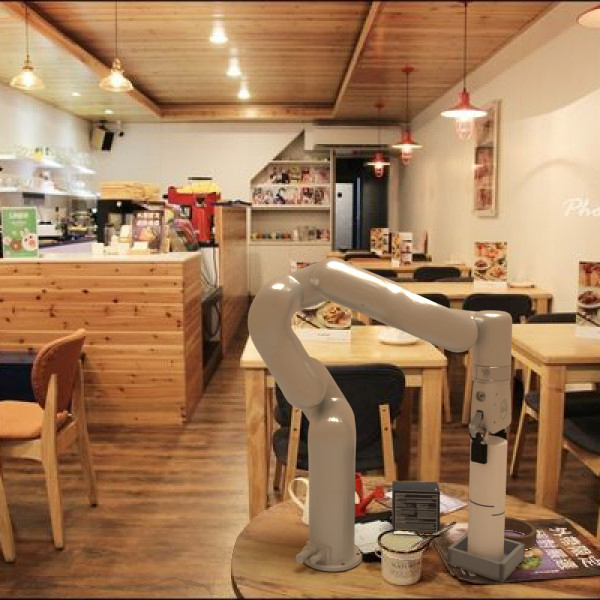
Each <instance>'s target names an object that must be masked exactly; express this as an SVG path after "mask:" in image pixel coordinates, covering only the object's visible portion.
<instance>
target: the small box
mask: <svg viewBox="0 0 600 600" xmlns="http://www.w3.org/2000/svg"><path fill="white" fill-rule="evenodd" d="M391 486H392V487H391V490H392V491H391V492H392V494H391V495H392V497H391V501H392V502H391V509H392V510H391V514H392V515H391V518H392V519H391V522H392V523H391V528H392V527H393V529H392V531H393V530H408V531H417V532H421V533H424V534H433V533H436V532H438V531H441V489H440V486H439V483H438V482H437V481H406V480H405V481H403V480H397V481H396V480H392V485H391Z"/></svg>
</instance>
